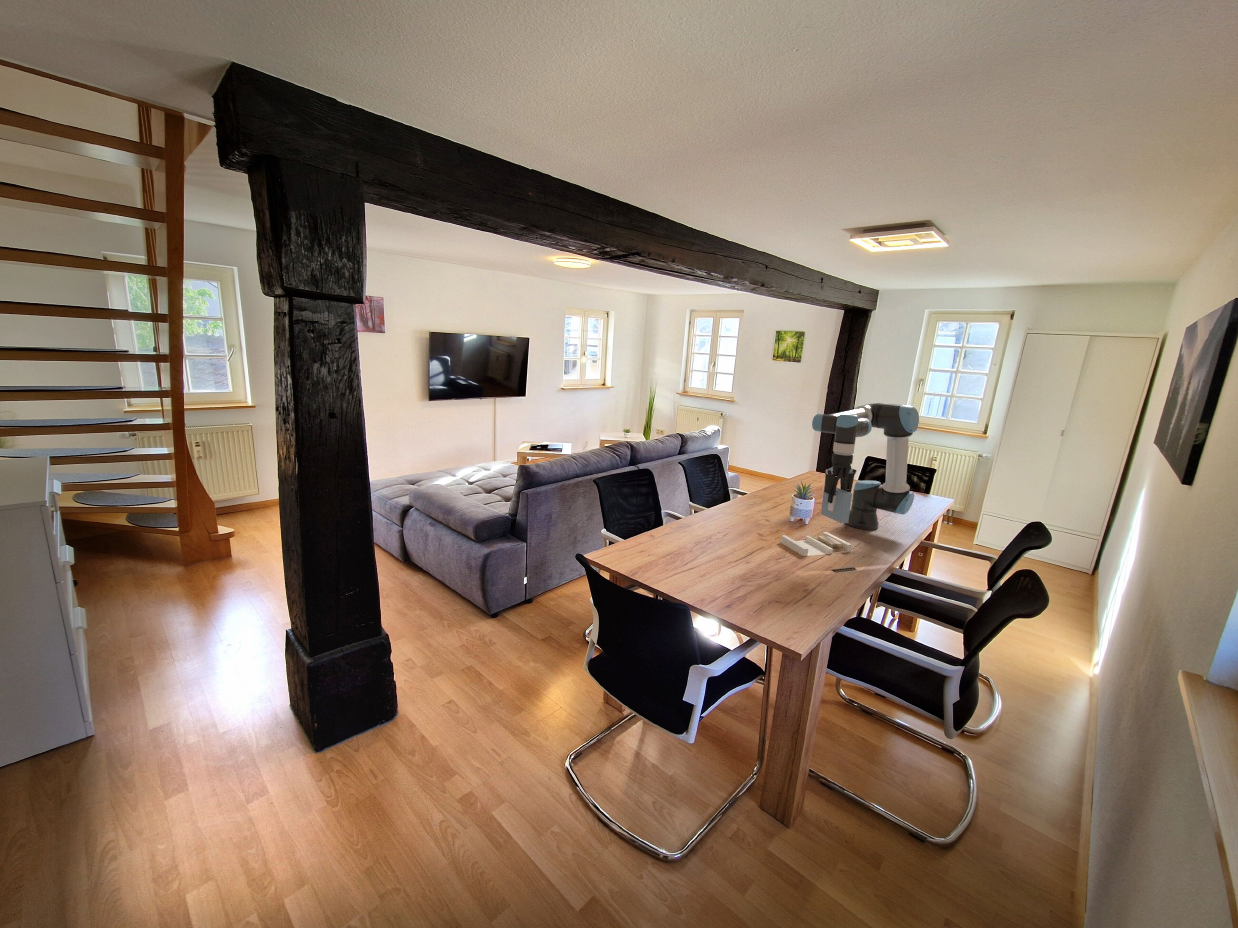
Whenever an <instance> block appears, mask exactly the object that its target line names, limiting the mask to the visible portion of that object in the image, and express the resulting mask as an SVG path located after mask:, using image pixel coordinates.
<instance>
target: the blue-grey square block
mask: <svg viewBox="0 0 1238 928" xmlns="http://www.w3.org/2000/svg"><path fill="white" fill-rule="evenodd" d="M824 488H825V485H824V486H823V489H824ZM822 493H823V494H822V500H821V501H822V502H821V509H820V514H821V515H822V516H824V517H827V518H828V519H831V520H832V521H835V522H837V523H839V524H846V523H848V520H849V513H850V510H851V506H852V499H853V492H851V493H850V492H847V491H844V490H842V489H840V488H838V487H836V491H835V494H834V495H835V496H836V499H835V506H834V512H832V511H830V510H828V504H829V502H828V494H827V493H825V492H824V491H823V492H822Z"/></svg>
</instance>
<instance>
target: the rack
mask: <svg viewBox="0 0 1238 928" xmlns="http://www.w3.org/2000/svg"><path fill="white" fill-rule="evenodd" d="M822 536H829V537H831V538H833V539H835V540H836V541H838V542H840V543H841V544H842V548H844V549H845V551H842V552H833V549H832V548H830V547H828V546H827V545H825V544H823V543H821V542H819V541H817V540H816V539H814V538H812V537H813V536H812V537H811V536H810V535H805V539H803V540H794V539H793V538H790V537H789V536H787V535H786V534H784V535H781V536H780V543H781V544H782V545H784V546H785V547H788V548H789V549H790V550H792V551H794V552H795V553H798V554H799V555H800V556H802V557H812V556H820V555H821V556H822V555H830V554H831V555H832V554H840V553H844V554H845V553H852V547H853V544H851V543H849V542H848V541H846V540H844V539H841V538H839V537H838V536H835V534H832V533H830V532H827V531H823V532H822Z"/></svg>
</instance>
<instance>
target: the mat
mask: <svg viewBox="0 0 1238 928" xmlns="http://www.w3.org/2000/svg"><path fill="white" fill-rule="evenodd" d="M831 571H832V572H833V573H835V574H836V573H837V574H838V573H844V572H845V573H846V572H853V571H857V568H855V567H845V568H835V569H831Z"/></svg>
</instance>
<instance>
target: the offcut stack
mask: <svg viewBox="0 0 1238 928" xmlns="http://www.w3.org/2000/svg"><path fill="white" fill-rule="evenodd" d="M812 538H814V539H816V540H817V541H819V542H821V543H823V544H825V545H827V546H828V547H830V548H832V549H833V552H842V551H845V549H844V548H842V544H841V543H840V542H838V541H836V540H835V539H833V538H831V537H829V536H823V535H817V536H812Z"/></svg>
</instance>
